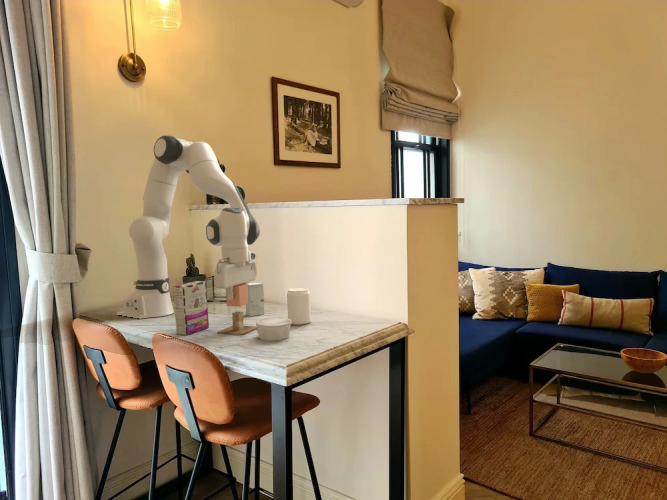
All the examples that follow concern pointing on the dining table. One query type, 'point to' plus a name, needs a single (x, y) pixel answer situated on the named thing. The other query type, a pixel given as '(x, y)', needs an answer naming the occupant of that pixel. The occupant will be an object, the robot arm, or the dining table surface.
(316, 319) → the dining table surface
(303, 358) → the dining table surface
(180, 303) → the candy bar box
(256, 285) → the skincare box
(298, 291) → the beverage can
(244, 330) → the base plate with peg
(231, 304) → the salmon orange rectangular block
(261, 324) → the ramekin
